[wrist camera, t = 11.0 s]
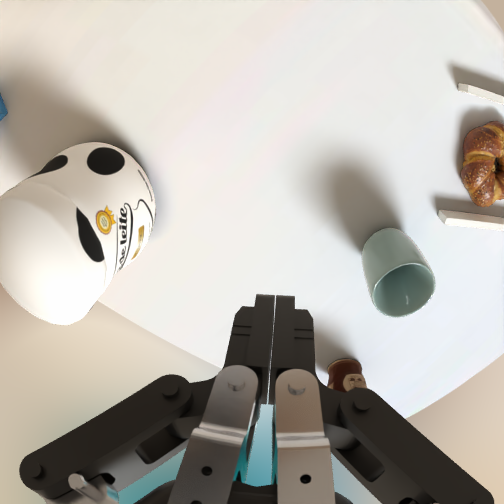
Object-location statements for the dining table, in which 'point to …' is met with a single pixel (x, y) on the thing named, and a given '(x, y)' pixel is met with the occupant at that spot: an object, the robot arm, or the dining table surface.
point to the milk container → (73, 230)
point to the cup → (396, 273)
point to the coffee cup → (345, 375)
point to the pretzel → (484, 163)
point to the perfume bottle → (2, 108)
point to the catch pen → (470, 218)
